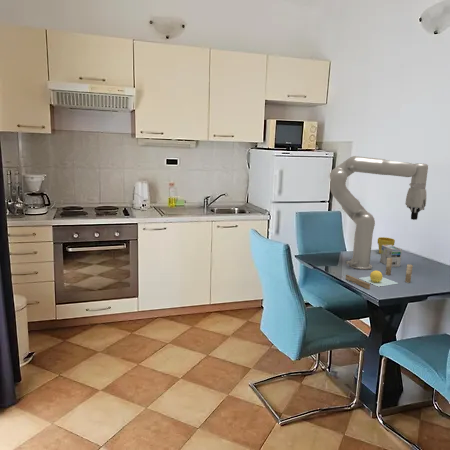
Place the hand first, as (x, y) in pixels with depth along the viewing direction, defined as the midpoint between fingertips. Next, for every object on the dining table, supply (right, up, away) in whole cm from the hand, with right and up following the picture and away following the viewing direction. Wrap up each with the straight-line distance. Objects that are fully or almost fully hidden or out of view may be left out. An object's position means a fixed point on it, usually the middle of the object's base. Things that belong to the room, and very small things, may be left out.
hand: (413, 219), depth 230 cm
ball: (-28, -29, -19) cm, 44 cm away
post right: (-10, -32, -16) cm, 38 cm away
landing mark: (-26, -32, -16) cm, 44 cm away
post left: (-16, -30, -4) cm, 34 cm away
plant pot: (-1, -22, +41) cm, 46 cm away
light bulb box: (-7, -27, +16) cm, 32 cm away
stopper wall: (-39, -33, -22) cm, 55 cm away
